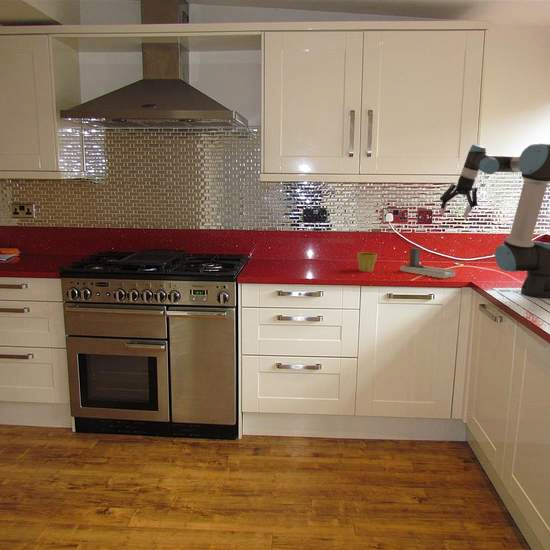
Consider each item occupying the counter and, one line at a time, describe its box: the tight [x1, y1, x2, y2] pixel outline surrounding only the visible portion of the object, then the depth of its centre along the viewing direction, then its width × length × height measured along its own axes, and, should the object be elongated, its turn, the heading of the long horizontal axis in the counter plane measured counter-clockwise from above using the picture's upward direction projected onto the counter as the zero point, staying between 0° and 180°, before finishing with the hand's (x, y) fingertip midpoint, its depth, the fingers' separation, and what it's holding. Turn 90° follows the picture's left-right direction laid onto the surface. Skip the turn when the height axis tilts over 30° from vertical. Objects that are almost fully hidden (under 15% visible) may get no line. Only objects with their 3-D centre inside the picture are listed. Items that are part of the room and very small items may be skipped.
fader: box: [405, 247, 424, 268], centre depth 270 cm, size 6×7×10 cm
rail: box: [399, 265, 456, 279], centre depth 265 cm, size 26×10×3 cm, turn 40°
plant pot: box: [356, 251, 378, 273], centre depth 270 cm, size 10×10×10 cm
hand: (453, 216), depth 263 cm, fingers open, 13 cm apart
